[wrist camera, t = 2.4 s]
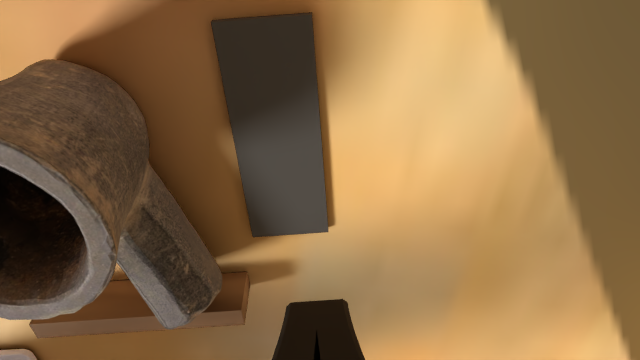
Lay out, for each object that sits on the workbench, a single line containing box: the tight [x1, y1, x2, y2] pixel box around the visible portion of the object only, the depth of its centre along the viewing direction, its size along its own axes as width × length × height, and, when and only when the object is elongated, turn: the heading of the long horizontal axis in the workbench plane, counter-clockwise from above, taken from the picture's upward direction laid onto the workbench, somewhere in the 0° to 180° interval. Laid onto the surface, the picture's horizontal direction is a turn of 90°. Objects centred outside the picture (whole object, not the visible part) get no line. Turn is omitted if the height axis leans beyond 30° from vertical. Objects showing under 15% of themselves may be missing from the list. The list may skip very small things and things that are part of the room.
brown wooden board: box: [29, 272, 250, 338], centre depth 18 cm, size 17×10×2 cm, turn 4°
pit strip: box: [211, 12, 328, 237], centre depth 19 cm, size 10×4×1 cm, turn 4°
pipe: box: [0, 60, 222, 329], centre depth 17 cm, size 6×13×8 cm, turn 22°
